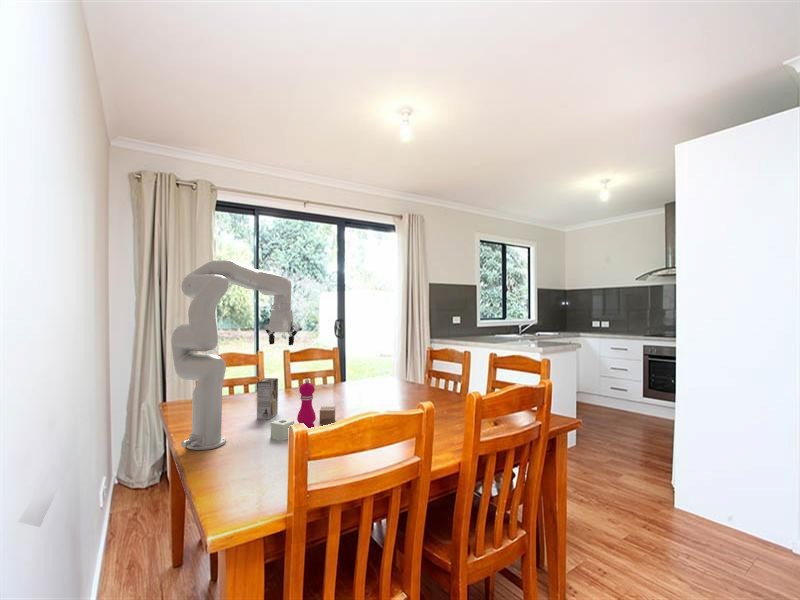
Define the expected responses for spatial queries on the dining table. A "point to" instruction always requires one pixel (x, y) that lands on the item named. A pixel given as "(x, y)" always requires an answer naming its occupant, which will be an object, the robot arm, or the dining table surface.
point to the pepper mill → (306, 404)
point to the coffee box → (267, 398)
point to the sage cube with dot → (280, 429)
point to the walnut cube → (327, 415)
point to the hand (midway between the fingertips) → (281, 344)
